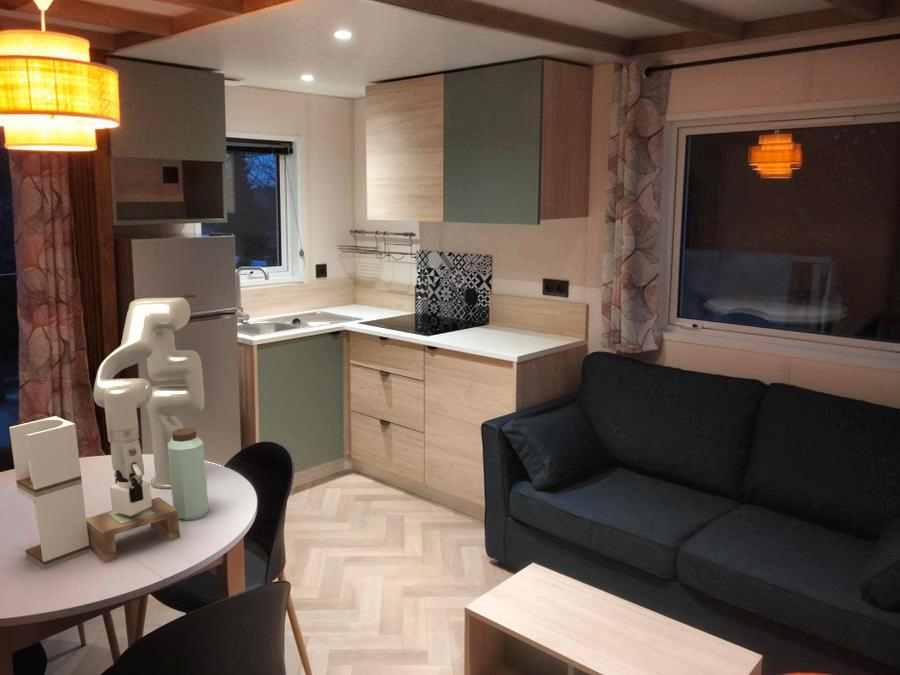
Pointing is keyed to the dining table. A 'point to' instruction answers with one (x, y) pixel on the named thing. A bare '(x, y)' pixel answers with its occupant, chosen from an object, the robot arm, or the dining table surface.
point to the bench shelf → (130, 526)
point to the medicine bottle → (128, 496)
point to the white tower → (52, 488)
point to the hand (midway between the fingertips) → (129, 495)
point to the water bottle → (187, 474)
